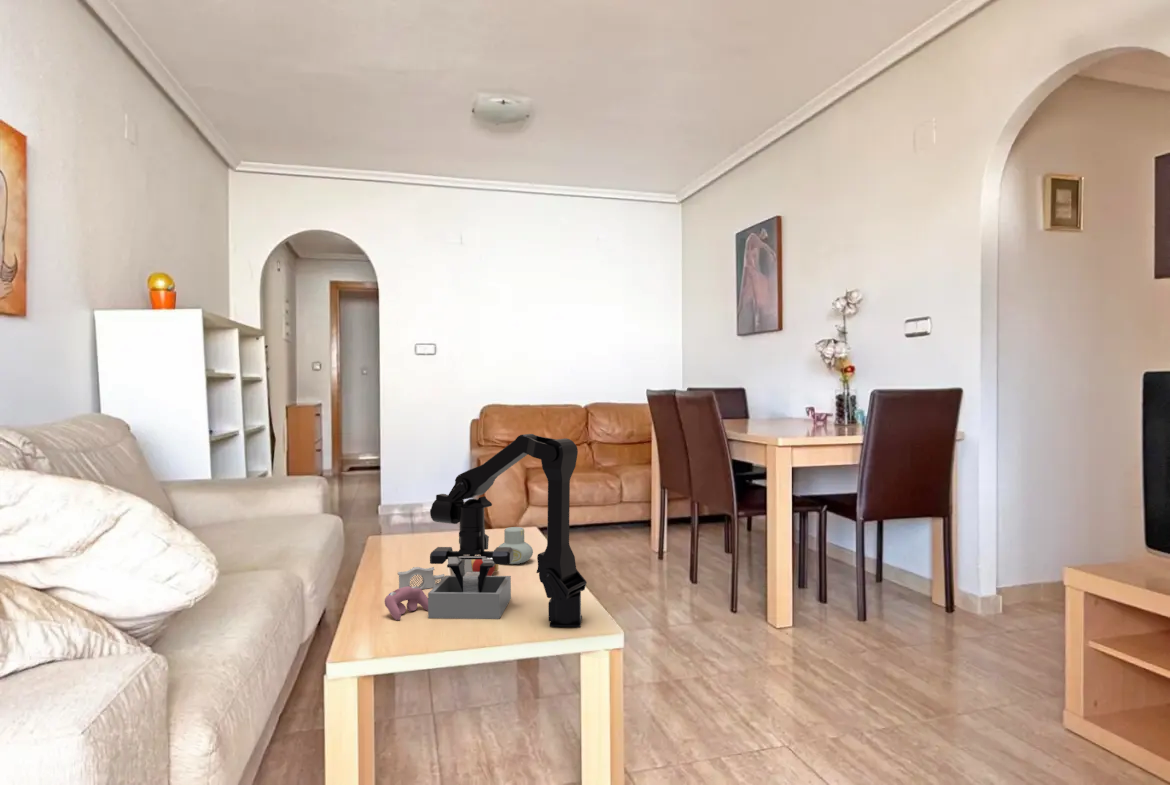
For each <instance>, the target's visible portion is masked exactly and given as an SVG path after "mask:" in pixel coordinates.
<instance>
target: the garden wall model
mask: <svg viewBox="0 0 1170 785" xmlns="http://www.w3.org/2000/svg"><path fill="white" fill-rule="evenodd" d="M434 571H436V570H435V566H431V567H428V568H424V567H420V566H415V567H414V566H413V567H412V568H410V569H408V570H406V571H397V575H398V589H399V588H403V587H407V586H409V587H415V586H418V587H419V588H420V589H421V590H425V589H426V590H427V589H433V588H434V587H435V586H436V585H437V584H438V583H439V582H440V581H441V580H442V579H443V578H444V577H445V576H446V574H445V573H442V574H436V575H435V574H434Z"/></svg>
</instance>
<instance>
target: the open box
mask: <svg viewBox="0 0 1170 785" xmlns="http://www.w3.org/2000/svg"><path fill="white" fill-rule="evenodd" d="M511 577H512V576H511V575H491V576H486V580H485V583H484V586H483V589H482V593H477V592H463V591H462V589H461V587H460V584H459V582H458V580H457V578H456V576H455V575H445V577H444V578H443V579H442V580H441V581H439V582H437V583H438V584H437V585H436V586H435V587H433V588H431V590H429V592H428V593H427V598H428V611H427V614H428V615H427V618H428V619H461V620H462V619H463V620H464V619H468V620H469V619H471V620H474V619H477V620H478V619H479V620H481V619H482V620H500V619H501V617H502V615H503V614H504V612H505V610H506V608H507V606H508V604H509V603H510V601H511V598H512V585H511V584H512V583H511V581H512V580H511V579H512V578H511Z"/></svg>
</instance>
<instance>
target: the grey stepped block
mask: <svg viewBox="0 0 1170 785" xmlns="http://www.w3.org/2000/svg"><path fill="white" fill-rule="evenodd" d="M479 574H480V572H472V571H465V574H464V576H463V592H477V593H479ZM481 593H482V592H481Z"/></svg>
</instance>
